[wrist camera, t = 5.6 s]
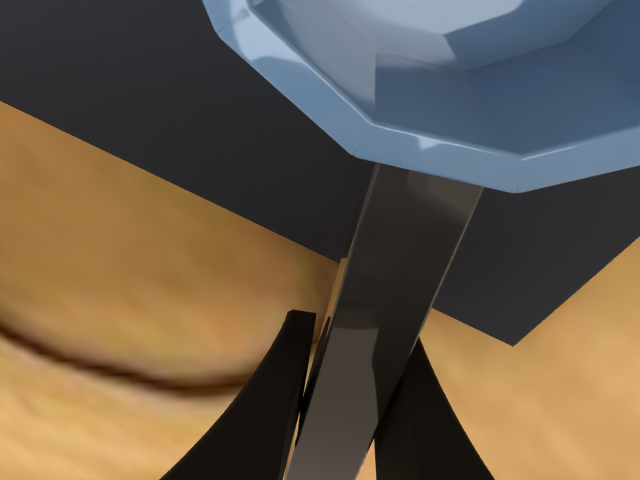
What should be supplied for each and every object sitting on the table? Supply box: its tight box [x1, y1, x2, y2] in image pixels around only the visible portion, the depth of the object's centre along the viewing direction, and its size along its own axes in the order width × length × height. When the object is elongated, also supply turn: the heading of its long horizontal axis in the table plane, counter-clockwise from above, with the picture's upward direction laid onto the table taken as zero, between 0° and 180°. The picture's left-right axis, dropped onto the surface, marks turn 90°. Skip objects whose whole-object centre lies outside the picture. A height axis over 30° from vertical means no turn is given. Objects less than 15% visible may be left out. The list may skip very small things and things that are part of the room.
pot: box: [202, 0, 640, 480], centre depth 9 cm, size 18×9×6 cm, turn 169°
